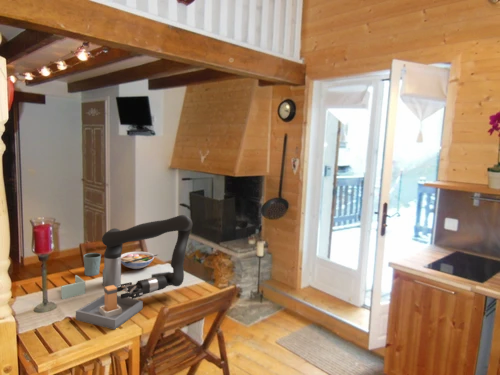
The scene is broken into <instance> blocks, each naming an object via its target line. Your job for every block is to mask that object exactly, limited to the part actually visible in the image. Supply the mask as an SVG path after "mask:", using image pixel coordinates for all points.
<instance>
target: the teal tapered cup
mask: <svg viewBox="0 0 500 375" xmlns="http://www.w3.org/2000/svg"><path fill="white" fill-rule="evenodd" d="M101 257H102V254H101V253H98V252H89V253H86V254H84V255H83V263H84V264H83V268H84V271H83V272H84V276H86V277H94V276H97V275H100V270H101V269H100V268H101V259H102V258H101Z"/></svg>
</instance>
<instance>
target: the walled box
mask: <svg viewBox="0 0 500 375" xmlns="http://www.w3.org/2000/svg"><path fill="white" fill-rule="evenodd" d="M143 302H144V300H141V299H136V298H133V299H132V298H131V297H130V298H129V297H127V298H123V299H121V295H118V294H117V309H115V310H111V311H108V312H107V311H105V310H104V304H105V293H104V294H103V295H101V296H100V297H97V298H96V299H95V300H93V301H91V302H89V303H87V304H86V305H84V306H81V307H80V308H79V309H77V310H75V321H78V322H82V323H86V324H87V323H88V324H91V325H95V326H98V327H103V328H106V327H107V329H112V330H117V329H118V328H119V327H121V326H122V325H123V324H124V323H126V322H127V321H128V320H130V319H131V318H133V317H134V316H136V315H137V314H138V313H139V312H141V311H142V310H143V308H144V307H143V306H144V304H143ZM116 328H117V329H116Z"/></svg>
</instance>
